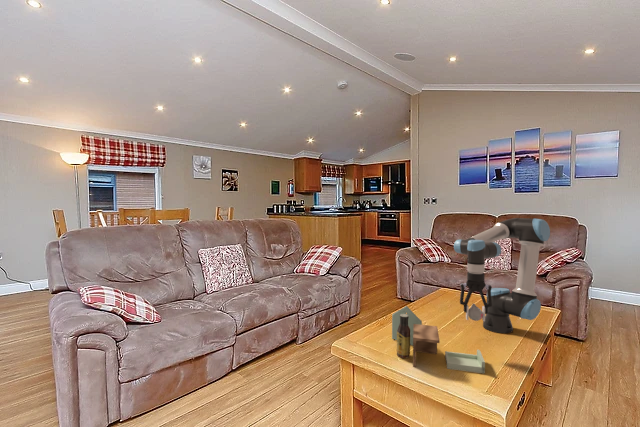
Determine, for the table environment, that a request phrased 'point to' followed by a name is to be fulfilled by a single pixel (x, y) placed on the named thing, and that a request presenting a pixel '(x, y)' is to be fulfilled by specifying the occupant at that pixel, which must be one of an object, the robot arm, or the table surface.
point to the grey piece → (411, 321)
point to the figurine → (475, 313)
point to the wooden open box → (424, 340)
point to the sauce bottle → (403, 337)
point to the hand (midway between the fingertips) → (475, 319)
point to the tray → (465, 362)
